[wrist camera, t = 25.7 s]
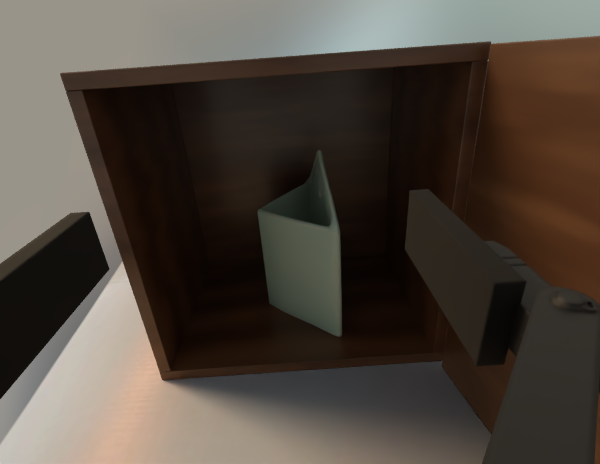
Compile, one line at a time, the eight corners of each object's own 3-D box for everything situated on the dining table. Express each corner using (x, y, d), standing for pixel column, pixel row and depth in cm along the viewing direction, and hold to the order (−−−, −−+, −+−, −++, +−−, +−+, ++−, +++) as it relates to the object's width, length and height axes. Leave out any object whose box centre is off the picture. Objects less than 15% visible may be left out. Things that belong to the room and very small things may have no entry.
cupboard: (442, 360, 38) (491, 41, 25) (162, 380, 38) (59, 73, 25) (390, 257, 58) (401, 48, 44) (205, 270, 58) (160, 66, 45)
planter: (265, 270, 54) (248, 141, 46) (316, 264, 55) (309, 135, 46) (274, 347, 40) (252, 179, 31) (343, 336, 41) (340, 169, 32)
